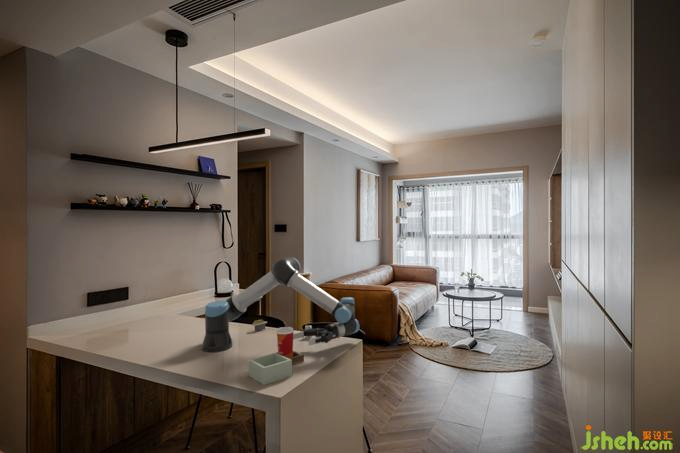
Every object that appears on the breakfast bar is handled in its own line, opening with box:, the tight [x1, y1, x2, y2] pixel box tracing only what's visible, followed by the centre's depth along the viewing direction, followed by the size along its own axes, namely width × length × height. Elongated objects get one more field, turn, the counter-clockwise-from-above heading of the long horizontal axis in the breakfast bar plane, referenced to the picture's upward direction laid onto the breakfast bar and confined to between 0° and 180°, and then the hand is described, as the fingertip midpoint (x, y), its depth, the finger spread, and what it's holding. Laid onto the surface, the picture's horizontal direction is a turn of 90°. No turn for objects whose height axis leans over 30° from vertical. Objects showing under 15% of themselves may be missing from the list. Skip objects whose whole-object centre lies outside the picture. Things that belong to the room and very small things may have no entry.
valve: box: [304, 325, 318, 340], centre depth 203 cm, size 7×7×12 cm
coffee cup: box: [275, 326, 295, 358], centre depth 168 cm, size 8×8×15 cm
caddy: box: [247, 352, 293, 386], centre depth 151 cm, size 13×13×6 cm
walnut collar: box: [275, 350, 305, 366], centre depth 167 cm, size 12×12×3 cm
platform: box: [251, 319, 268, 332], centre depth 224 cm, size 12×18×7 cm, turn 140°
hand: (300, 339), depth 173 cm, fingers open, 13 cm apart
